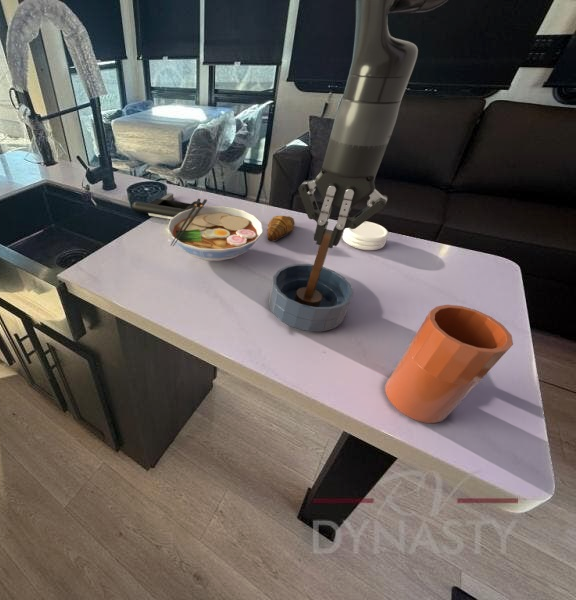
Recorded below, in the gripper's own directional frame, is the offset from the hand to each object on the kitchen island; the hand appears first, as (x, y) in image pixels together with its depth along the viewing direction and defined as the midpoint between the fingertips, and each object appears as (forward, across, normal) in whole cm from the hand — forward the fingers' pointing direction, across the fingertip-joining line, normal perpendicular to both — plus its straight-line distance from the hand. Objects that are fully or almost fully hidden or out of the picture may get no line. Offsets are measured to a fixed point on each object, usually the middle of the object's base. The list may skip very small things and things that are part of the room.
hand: (325, 244), depth 57 cm
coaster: (+14, +5, +33) cm, 37 cm away
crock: (+14, +20, -13) cm, 28 cm away
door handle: (+15, -50, +25) cm, 58 cm away
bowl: (+14, 0, -1) cm, 14 cm away
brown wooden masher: (+14, 0, 0) cm, 14 cm away
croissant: (+15, -15, +27) cm, 34 cm away
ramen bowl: (+15, -26, +9) cm, 31 cm away
